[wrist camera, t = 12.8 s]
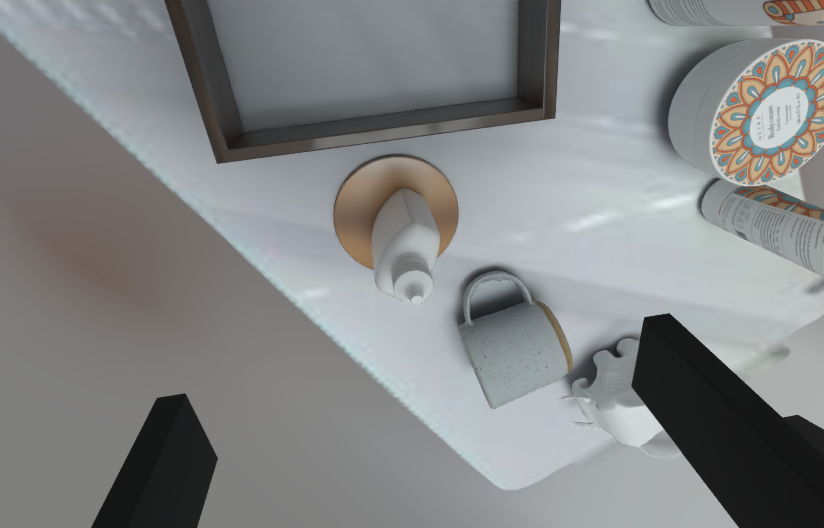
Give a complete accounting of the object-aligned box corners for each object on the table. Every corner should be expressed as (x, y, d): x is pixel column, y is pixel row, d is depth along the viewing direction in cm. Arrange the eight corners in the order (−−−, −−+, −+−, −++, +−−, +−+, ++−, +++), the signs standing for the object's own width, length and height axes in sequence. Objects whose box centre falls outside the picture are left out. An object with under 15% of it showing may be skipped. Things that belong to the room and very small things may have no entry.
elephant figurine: (539, 364, 45) (578, 434, 38) (649, 310, 44) (713, 371, 36) (569, 418, 50) (610, 491, 42) (670, 371, 48) (731, 437, 40)
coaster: (322, 164, 33) (322, 166, 33) (453, 146, 34) (454, 148, 33) (345, 278, 38) (346, 281, 37) (460, 261, 39) (461, 264, 38)
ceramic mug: (550, 339, 44) (586, 394, 37) (473, 368, 44) (495, 428, 38) (524, 251, 39) (560, 296, 32) (438, 285, 40) (455, 337, 33)
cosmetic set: (775, 204, 40) (1074, 329, 23) (676, 251, 41) (897, 401, 24) (751, -121, 28) (1321, -332, 12) (614, -45, 29) (958, -139, 13)
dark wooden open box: (171, -71, 26) (134, -91, 21) (533, -109, 27) (568, -135, 23) (235, 145, 32) (216, 164, 27) (528, 106, 33) (555, 118, 29)
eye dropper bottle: (352, 217, 35) (353, 299, 24) (412, 178, 34) (439, 246, 23) (383, 257, 37) (396, 349, 26) (440, 221, 36) (478, 301, 25)
